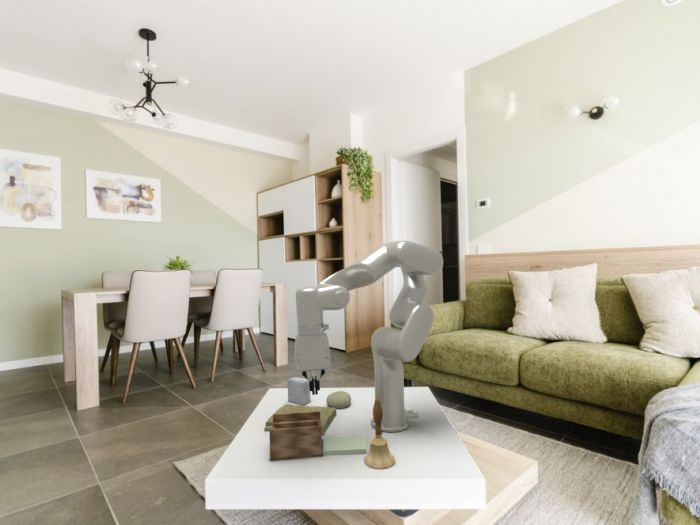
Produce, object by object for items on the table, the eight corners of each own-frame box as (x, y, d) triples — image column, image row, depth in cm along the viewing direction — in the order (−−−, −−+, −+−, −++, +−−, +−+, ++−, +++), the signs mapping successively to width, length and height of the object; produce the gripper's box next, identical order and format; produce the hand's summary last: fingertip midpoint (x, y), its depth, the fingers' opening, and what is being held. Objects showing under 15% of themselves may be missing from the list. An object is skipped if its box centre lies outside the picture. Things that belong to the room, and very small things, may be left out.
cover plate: (363, 440, 110) (363, 433, 110) (366, 455, 101) (366, 449, 101) (323, 441, 110) (323, 435, 110) (323, 457, 100) (322, 450, 100)
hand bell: (362, 468, 94) (361, 405, 94) (365, 452, 102) (364, 394, 102) (395, 470, 92) (393, 406, 93) (395, 453, 101) (394, 395, 101)
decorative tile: (283, 412, 134) (283, 402, 134) (336, 415, 129) (336, 405, 129) (260, 434, 115) (260, 423, 115) (321, 439, 111) (321, 427, 111)
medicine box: (310, 401, 142) (310, 379, 142) (303, 405, 138) (303, 382, 138) (295, 398, 146) (294, 376, 146) (287, 402, 142) (287, 379, 142)
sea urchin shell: (321, 398, 140) (334, 381, 142) (335, 410, 142) (348, 394, 144) (329, 406, 132) (343, 388, 134) (343, 419, 134) (357, 401, 136)
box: (320, 438, 111) (320, 411, 111) (322, 456, 100) (321, 426, 100) (273, 442, 109) (273, 414, 109) (270, 461, 98) (269, 430, 98)
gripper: (335, 325, 110) (339, 386, 110) (285, 329, 109) (289, 391, 109) (337, 330, 103) (341, 395, 103) (284, 334, 101) (288, 400, 101)
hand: (314, 393), depth 106 cm, fingers closed
